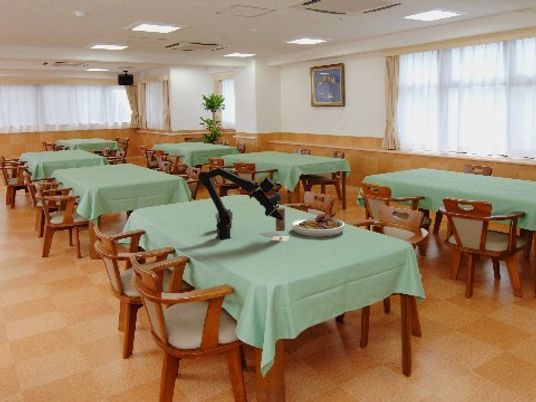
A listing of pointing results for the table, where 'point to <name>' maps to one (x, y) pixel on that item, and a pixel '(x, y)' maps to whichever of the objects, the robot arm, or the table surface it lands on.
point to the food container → (219, 220)
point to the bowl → (318, 226)
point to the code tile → (280, 238)
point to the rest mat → (270, 234)
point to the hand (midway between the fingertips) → (283, 218)
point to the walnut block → (280, 223)
